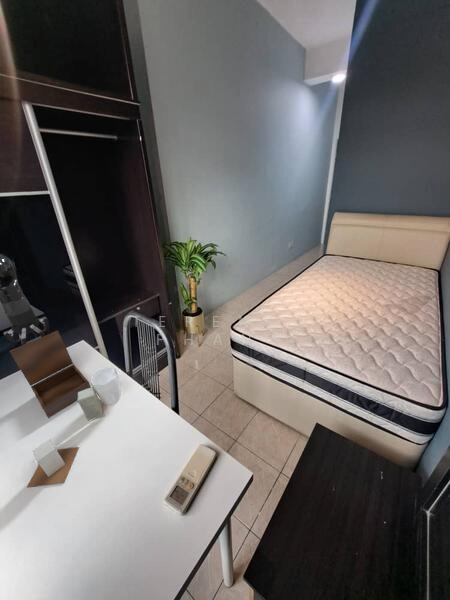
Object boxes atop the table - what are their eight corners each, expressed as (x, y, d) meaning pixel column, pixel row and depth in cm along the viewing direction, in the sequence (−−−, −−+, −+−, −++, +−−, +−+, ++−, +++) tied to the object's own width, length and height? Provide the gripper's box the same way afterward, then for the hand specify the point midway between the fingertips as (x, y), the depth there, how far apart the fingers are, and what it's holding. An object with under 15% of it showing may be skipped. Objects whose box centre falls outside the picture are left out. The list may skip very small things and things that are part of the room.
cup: (101, 393, 97) (92, 370, 91) (125, 387, 99) (117, 364, 94) (98, 412, 90) (88, 388, 84) (124, 404, 92) (116, 381, 86)
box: (103, 407, 91) (94, 385, 86) (104, 416, 88) (94, 394, 83) (87, 413, 89) (77, 391, 84) (87, 422, 86) (77, 401, 81)
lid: (58, 331, 97) (54, 327, 100) (9, 351, 87) (7, 346, 90) (73, 363, 104) (69, 358, 107) (30, 386, 94) (27, 380, 97)
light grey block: (65, 464, 74) (55, 448, 70) (48, 477, 71) (37, 461, 67) (60, 454, 76) (50, 438, 72) (43, 466, 73) (32, 450, 70)
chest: (93, 392, 98) (88, 381, 95) (49, 419, 88) (42, 408, 85) (78, 374, 107) (73, 364, 105) (36, 396, 97) (30, 386, 95)
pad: (27, 487, 69) (26, 486, 69) (46, 451, 78) (46, 450, 78) (64, 482, 70) (63, 482, 69) (79, 447, 78) (78, 446, 78)
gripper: (37, 298, 95) (54, 334, 103) (-10, 314, 86) (12, 351, 94) (43, 304, 91) (60, 341, 99) (-6, 321, 81) (17, 360, 90)
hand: (37, 346), depth 96 cm, fingers closed on lid, 5 cm apart
